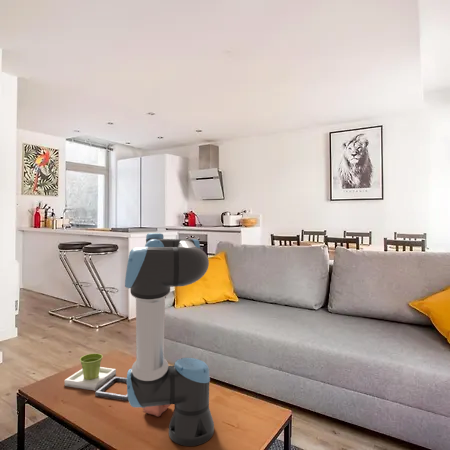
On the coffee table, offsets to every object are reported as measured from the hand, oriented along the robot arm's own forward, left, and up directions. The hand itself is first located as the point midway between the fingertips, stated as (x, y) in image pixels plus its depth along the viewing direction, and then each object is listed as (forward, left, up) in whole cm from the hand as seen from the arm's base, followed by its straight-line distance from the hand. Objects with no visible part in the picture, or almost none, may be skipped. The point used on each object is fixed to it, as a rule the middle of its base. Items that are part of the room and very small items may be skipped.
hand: (153, 316), depth 144 cm
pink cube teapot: (-20, -11, -29) cm, 37 cm away
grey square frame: (-10, +10, -29) cm, 32 cm away
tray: (-6, +27, -29) cm, 40 cm away
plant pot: (-5, +27, -28) cm, 39 cm away
